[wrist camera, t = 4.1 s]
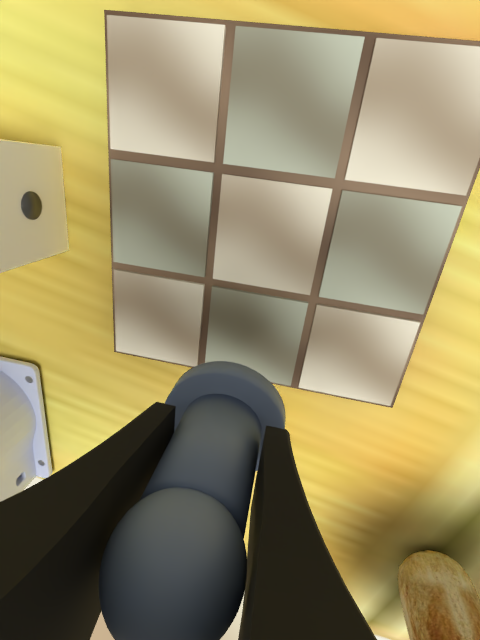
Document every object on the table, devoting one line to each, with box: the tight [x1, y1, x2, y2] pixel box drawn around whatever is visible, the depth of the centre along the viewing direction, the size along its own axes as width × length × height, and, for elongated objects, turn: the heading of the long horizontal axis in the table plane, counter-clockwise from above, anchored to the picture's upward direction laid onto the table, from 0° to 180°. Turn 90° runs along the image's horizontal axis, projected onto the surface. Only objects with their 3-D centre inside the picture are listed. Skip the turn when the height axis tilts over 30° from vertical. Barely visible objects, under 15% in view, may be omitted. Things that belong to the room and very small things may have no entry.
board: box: [104, 10, 480, 408], centre depth 16 cm, size 15×15×1 cm
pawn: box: [99, 361, 285, 640], centre depth 9 cm, size 4×4×7 cm
